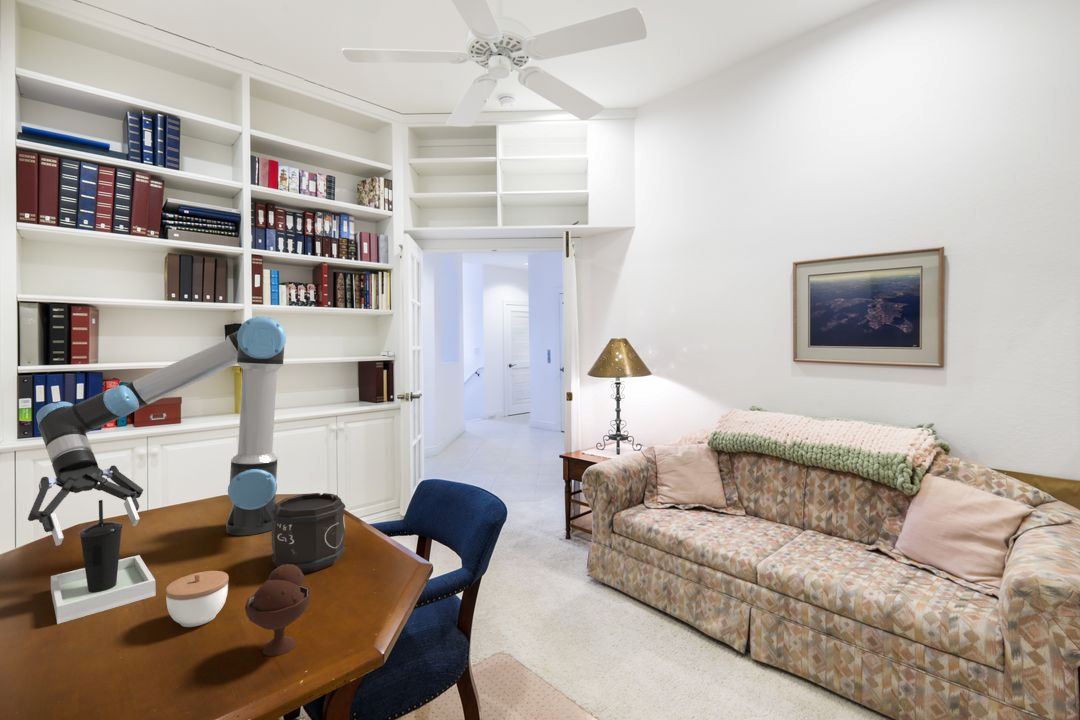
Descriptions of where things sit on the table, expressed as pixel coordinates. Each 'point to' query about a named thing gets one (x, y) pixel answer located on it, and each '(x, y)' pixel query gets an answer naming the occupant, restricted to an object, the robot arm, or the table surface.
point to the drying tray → (80, 602)
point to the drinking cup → (101, 552)
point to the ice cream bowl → (279, 606)
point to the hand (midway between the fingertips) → (100, 531)
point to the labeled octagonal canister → (308, 531)
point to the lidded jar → (197, 597)
